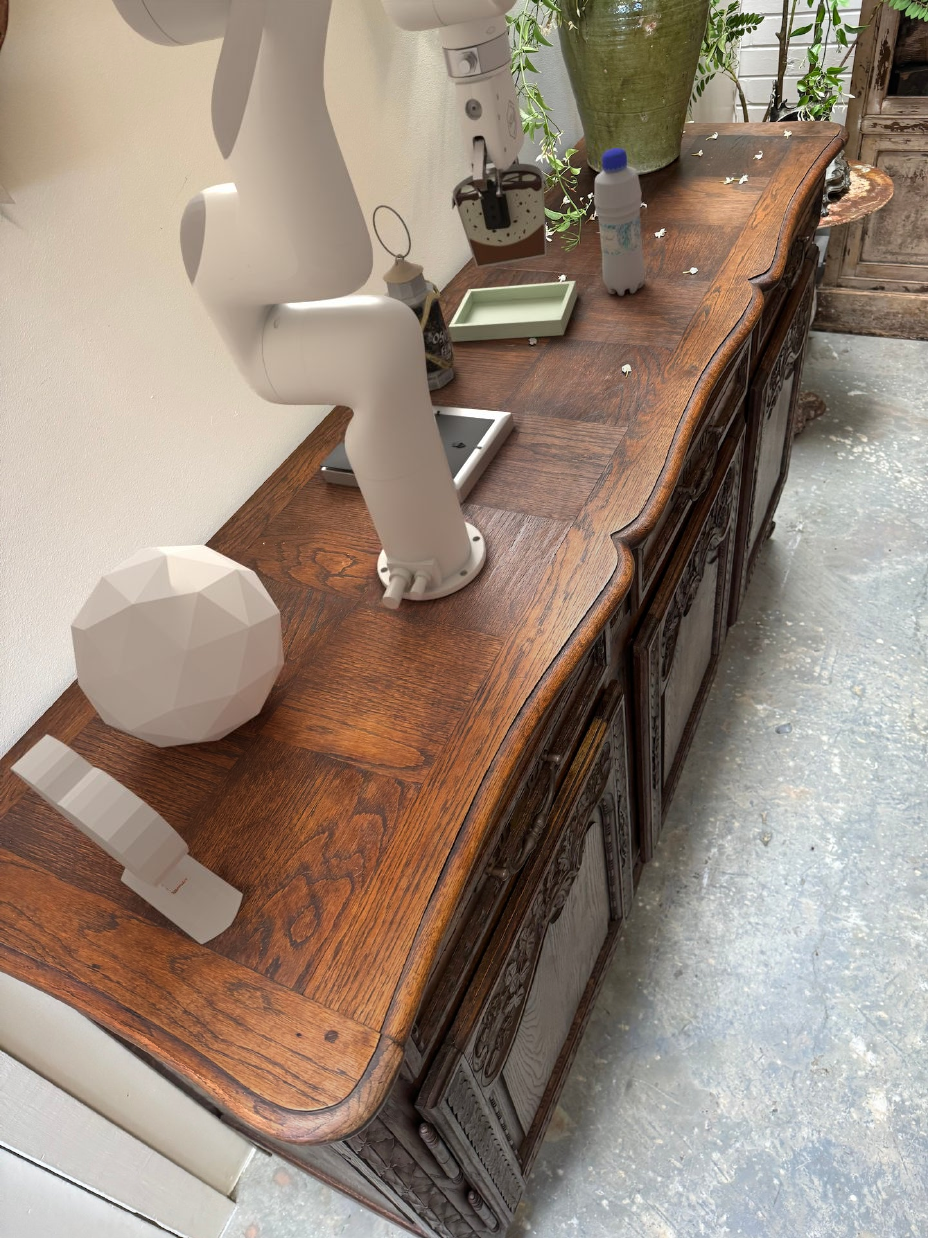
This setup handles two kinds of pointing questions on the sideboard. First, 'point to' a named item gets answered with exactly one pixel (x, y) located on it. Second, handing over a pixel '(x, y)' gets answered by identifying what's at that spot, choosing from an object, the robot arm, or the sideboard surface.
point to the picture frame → (446, 447)
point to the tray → (514, 312)
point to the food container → (524, 212)
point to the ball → (178, 645)
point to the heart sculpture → (131, 839)
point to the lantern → (422, 312)
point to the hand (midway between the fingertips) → (505, 213)
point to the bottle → (619, 223)
